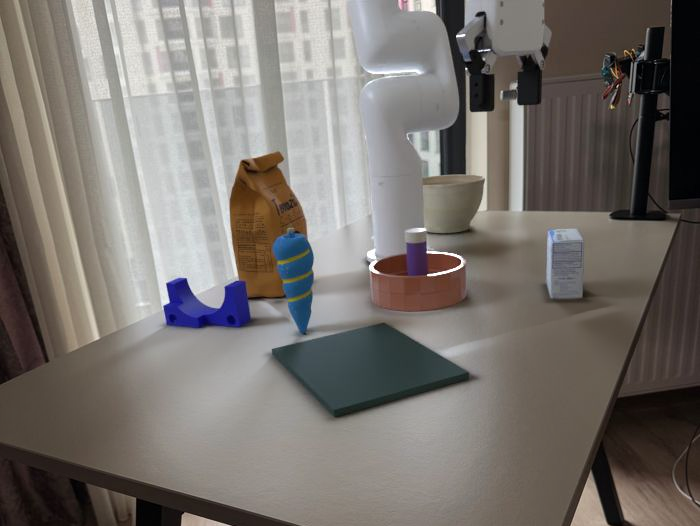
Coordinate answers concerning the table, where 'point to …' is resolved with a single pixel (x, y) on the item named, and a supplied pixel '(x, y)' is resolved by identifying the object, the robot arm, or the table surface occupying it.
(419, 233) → the glue stick
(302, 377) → the mat
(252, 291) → the coffee package
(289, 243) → the ornament
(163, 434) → the table surface
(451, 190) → the planter bowl
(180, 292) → the blue pipe cradle
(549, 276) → the medicine box
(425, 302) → the bowl
